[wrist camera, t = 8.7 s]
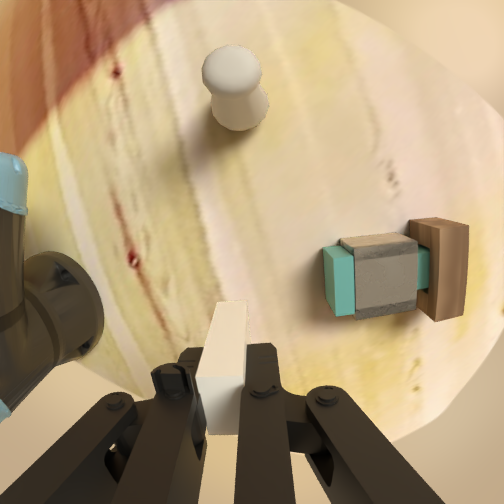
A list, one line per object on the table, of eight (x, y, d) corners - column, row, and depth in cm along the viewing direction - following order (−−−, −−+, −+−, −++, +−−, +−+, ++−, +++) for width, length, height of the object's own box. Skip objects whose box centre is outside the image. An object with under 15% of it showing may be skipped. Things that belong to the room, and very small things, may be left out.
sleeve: (342, 300, 35) (355, 320, 30) (339, 238, 34) (354, 248, 28) (396, 292, 35) (415, 309, 30) (396, 232, 33) (417, 241, 28)
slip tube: (325, 298, 35) (335, 316, 30) (322, 247, 34) (333, 258, 29) (428, 282, 34) (448, 296, 29) (428, 235, 33) (451, 243, 28)
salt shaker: (278, 100, 31) (288, 54, 18) (250, 144, 32) (245, 119, 19) (231, 76, 30) (216, 21, 18) (204, 118, 31) (173, 82, 19)
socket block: (408, 299, 35) (435, 322, 28) (409, 219, 33) (439, 228, 26) (434, 294, 35) (463, 315, 28) (436, 217, 33) (468, 225, 26)
